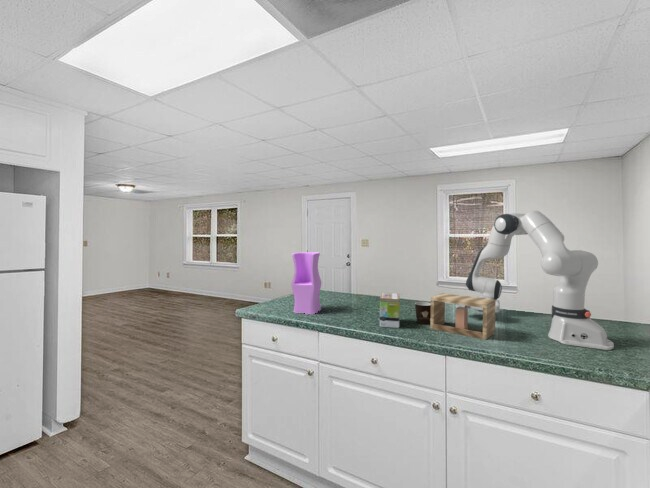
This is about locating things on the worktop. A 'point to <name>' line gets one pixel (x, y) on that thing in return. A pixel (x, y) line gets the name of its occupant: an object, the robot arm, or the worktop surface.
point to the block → (461, 318)
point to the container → (306, 282)
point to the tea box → (389, 310)
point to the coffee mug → (423, 312)
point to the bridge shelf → (486, 304)
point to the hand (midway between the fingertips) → (474, 308)
